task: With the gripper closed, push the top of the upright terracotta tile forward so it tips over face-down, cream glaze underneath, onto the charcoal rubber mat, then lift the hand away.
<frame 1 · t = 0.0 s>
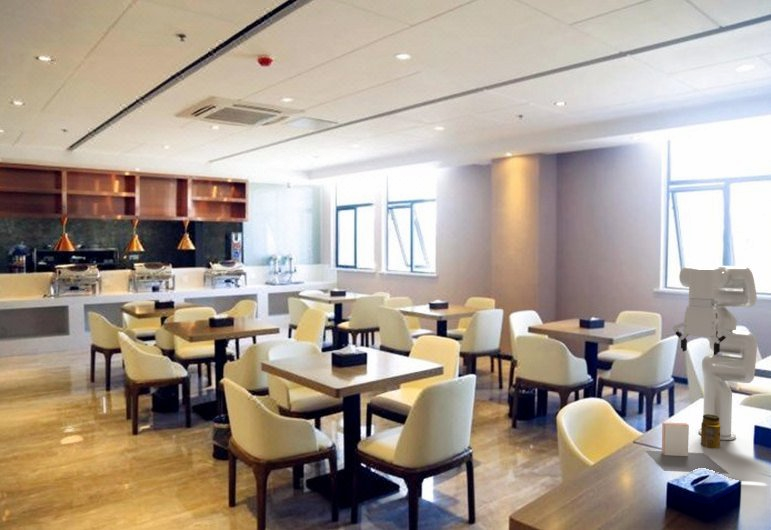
hand: (699, 352, 194), 37 cm above the table, tool pointing down, fingers open, 9 cm apart
mat: (684, 464, 190), on the table
tile: (674, 454, 196), point 1 cm above the table, touching mat
condiment: (708, 449, 205), on the table
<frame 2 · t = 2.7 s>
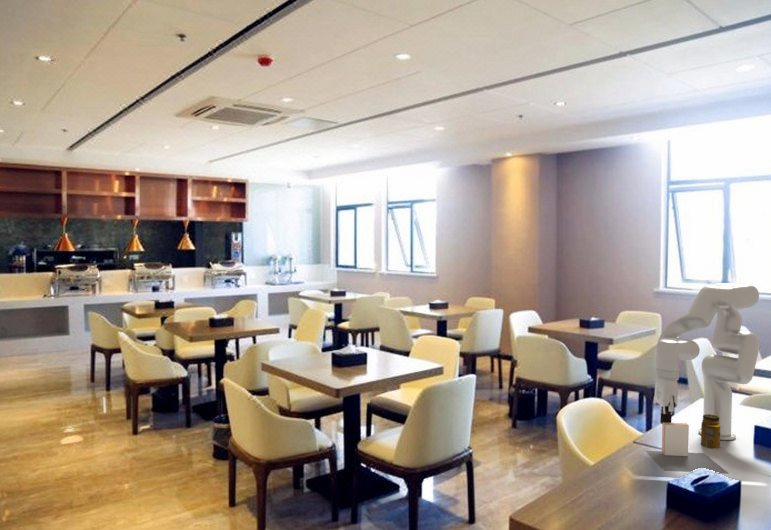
hand: (665, 424, 204), 9 cm above the table, tool pointing down, fingers closed
nothing on the table moved.
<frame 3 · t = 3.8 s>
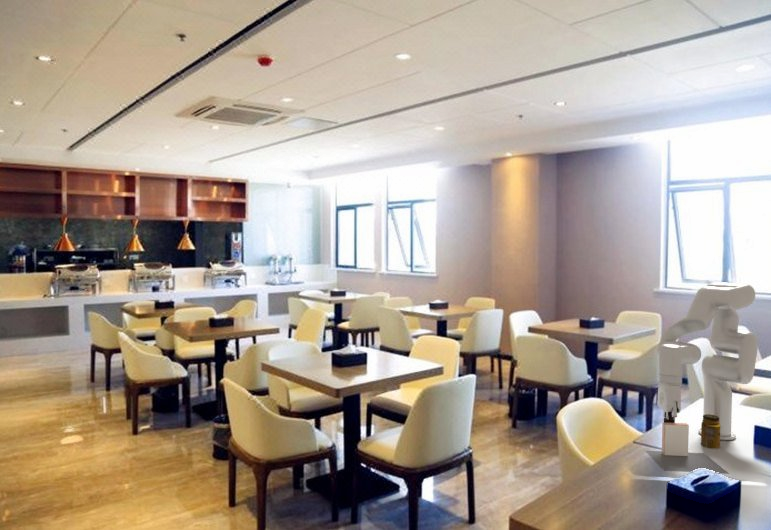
hand: (669, 429, 201), 8 cm above the table, tool pointing down, fingers closed
nothing on the table moved.
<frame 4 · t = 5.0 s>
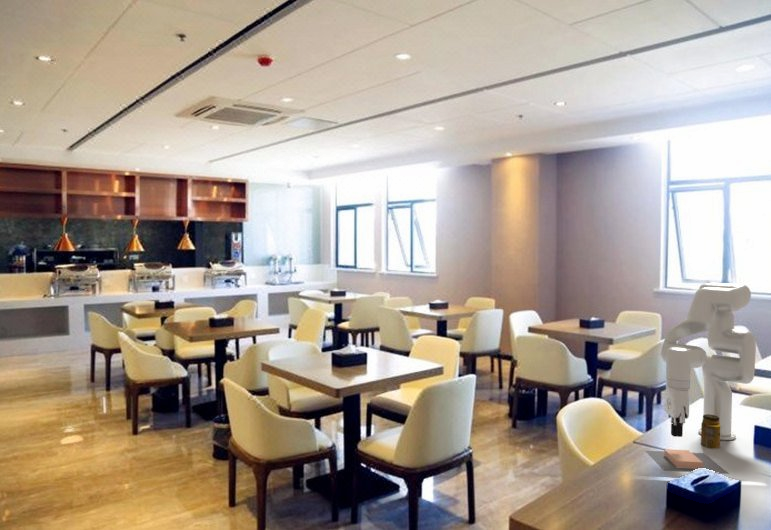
hand: (676, 435, 194), 8 cm above the table, tool pointing down, fingers closed
tile: (676, 452, 195), point 2 cm above the table, tilted 90°, touching mat
everything else where it was.
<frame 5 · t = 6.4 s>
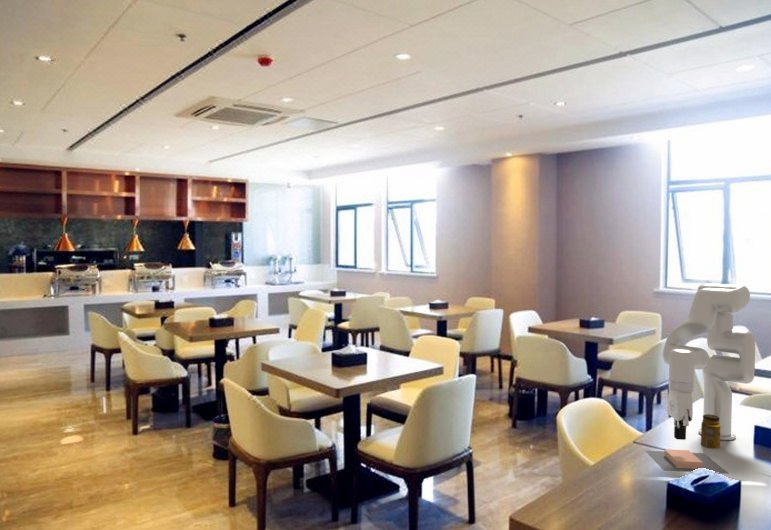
hand: (679, 438, 192), 8 cm above the table, tool pointing down, fingers closed
nothing on the table moved.
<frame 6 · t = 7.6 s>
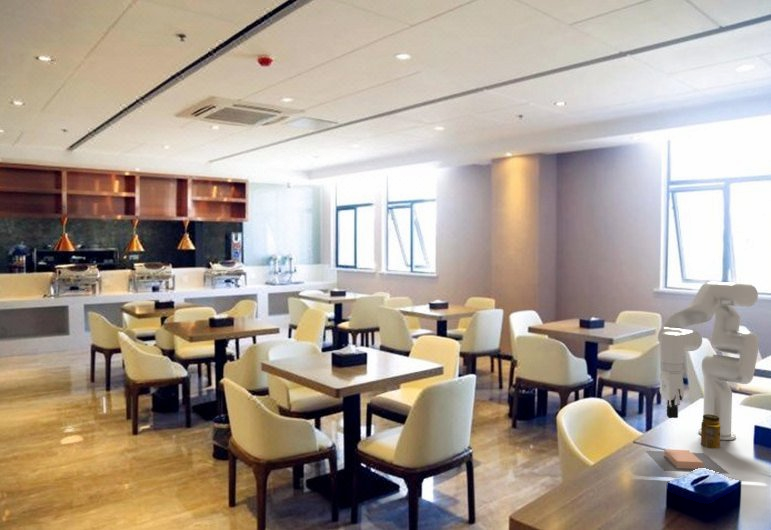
hand: (672, 417, 201), 13 cm above the table, tool pointing down, fingers closed
nothing on the table moved.
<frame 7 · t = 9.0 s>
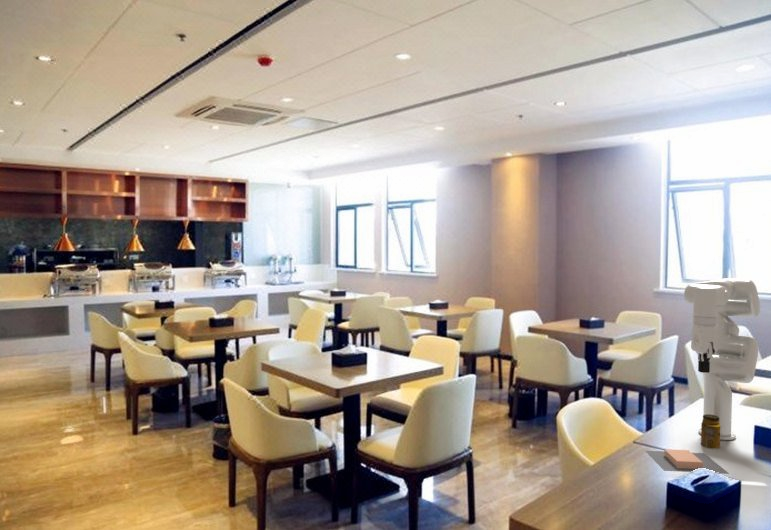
hand: (703, 371, 201), 29 cm above the table, tool pointing down, fingers closed
nothing on the table moved.
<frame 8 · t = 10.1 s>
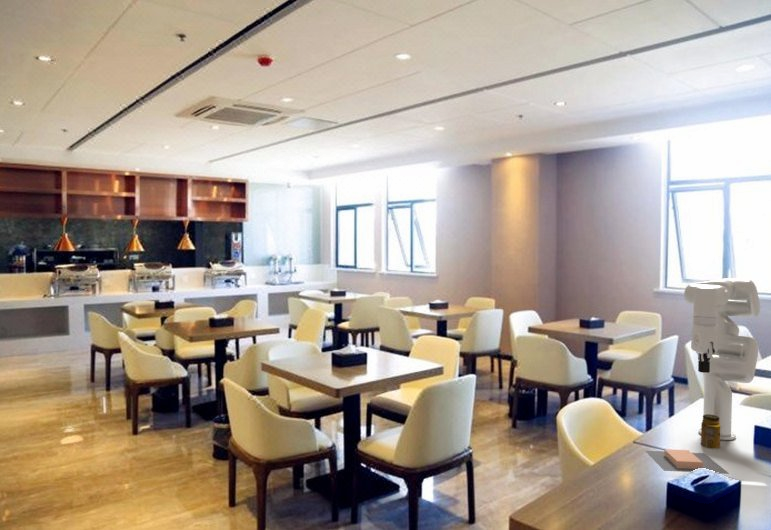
hand: (703, 371, 201), 29 cm above the table, tool pointing down, fingers closed
nothing on the table moved.
at the end: tile tilted 90°; tile inside the target area on the mat (3.0 cm from its centre), point 2.3 cm above the mat's base; tile touching mat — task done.
